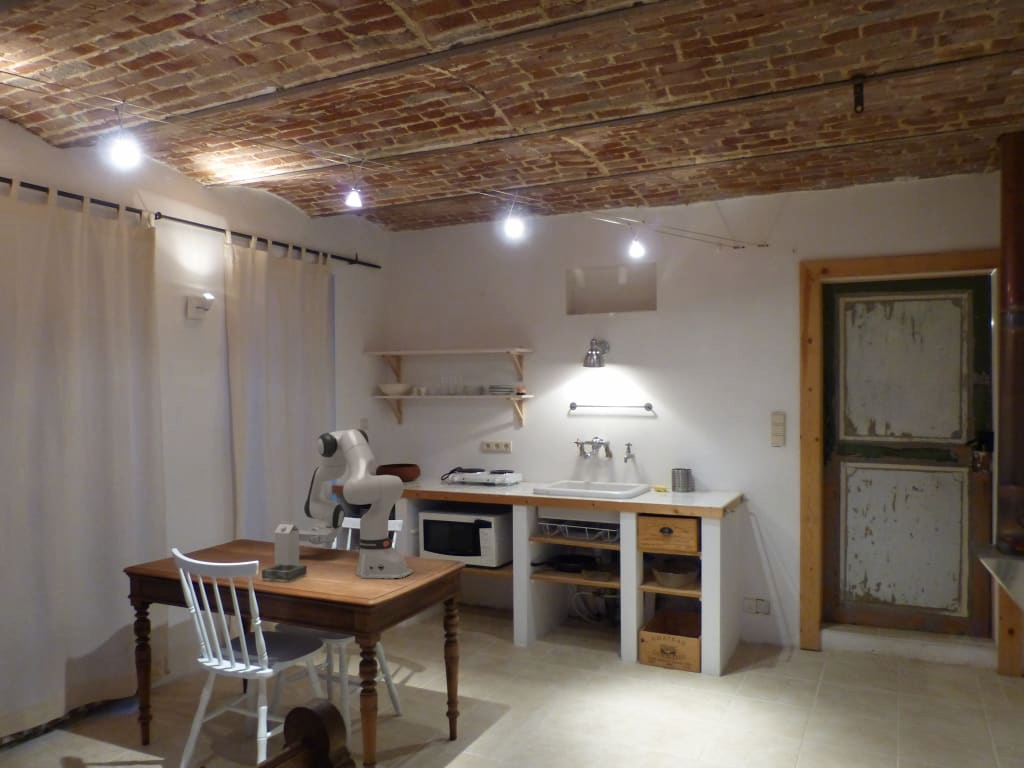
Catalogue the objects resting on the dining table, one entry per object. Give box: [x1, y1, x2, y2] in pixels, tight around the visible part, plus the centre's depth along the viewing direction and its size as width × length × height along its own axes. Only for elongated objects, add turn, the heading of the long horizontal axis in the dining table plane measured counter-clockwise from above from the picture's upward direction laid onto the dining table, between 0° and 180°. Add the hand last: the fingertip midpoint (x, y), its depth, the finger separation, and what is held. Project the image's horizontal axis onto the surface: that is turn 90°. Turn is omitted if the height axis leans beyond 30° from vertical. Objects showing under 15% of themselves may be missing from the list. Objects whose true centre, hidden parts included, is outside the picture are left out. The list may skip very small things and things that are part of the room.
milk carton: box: [274, 520, 300, 566], centre depth 318 cm, size 7×7×19 cm
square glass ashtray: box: [261, 564, 307, 583], centre depth 298 cm, size 12×12×4 cm
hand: (300, 539), depth 327 cm, fingers open, 8 cm apart
